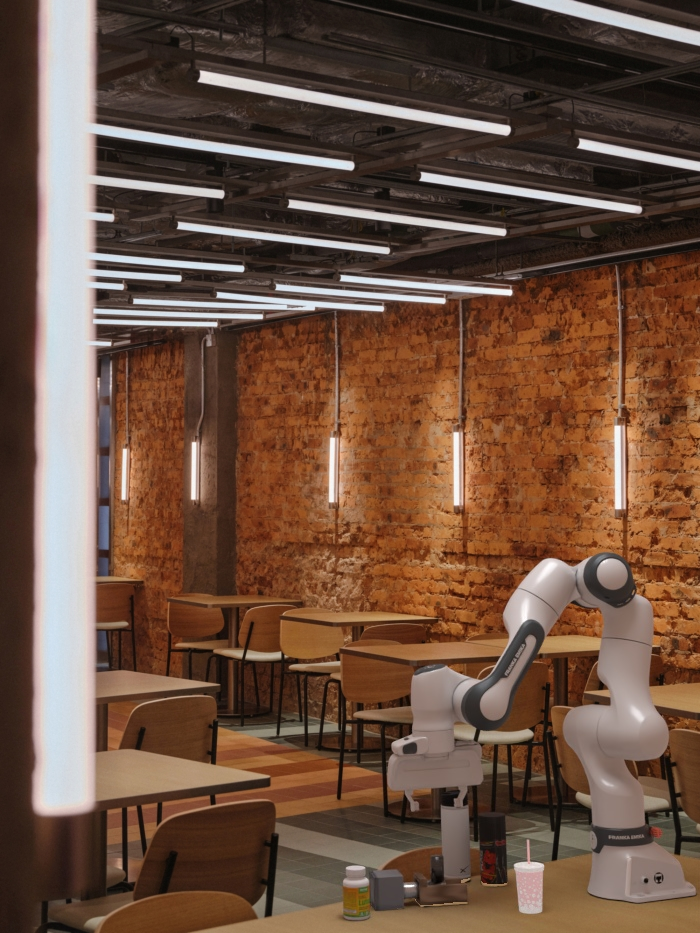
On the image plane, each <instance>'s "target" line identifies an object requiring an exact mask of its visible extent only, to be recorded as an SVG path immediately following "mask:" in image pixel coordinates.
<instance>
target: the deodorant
mask: <svg viewBox="0 0 700 933" xmlns="http://www.w3.org/2000/svg"><path fill="white" fill-rule="evenodd" d="M478 840H479V841H478V842H479V868H480V875H479V876H480V882H481V881H482V882H483V883H487V884H504V883H507V882H508V859H507V858H508V857H507V856H508V855H507V851H508V850H507V827H506V814H505V813H504V812H500V811H499V812H498V811H486V812H481V813H478ZM508 883H509V882H508Z"/></svg>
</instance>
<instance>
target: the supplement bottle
mask: <svg viewBox="0 0 700 933" xmlns="http://www.w3.org/2000/svg"><path fill="white" fill-rule="evenodd" d="M366 873H367V871H366V867H365V866H363V865H349V866H346V867H345V876H346V877H345V878H344V879H343V881H342V903H343V904H342V909H343V911H342V912H343V918H344V919H345V920H347V921H365V920H367V919H369V918H370V916H371V904H370V888H369V878H367V877H366Z"/></svg>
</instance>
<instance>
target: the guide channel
mask: <svg viewBox="0 0 700 933" xmlns="http://www.w3.org/2000/svg"><path fill="white" fill-rule="evenodd" d="M412 874H413V882H419V898H415V899H416V901H417V902H418V903H419V904H420V905H433V904H444V903H453V902H468V903H469V901H468V897H469V896H468V884H467V883H461V878H444V880H445V882H446V885H431V886H427V881H431V878H430V879H427V878H426V877H425V876H424V874H423V873H421V872H420V871H419V872H412ZM416 901H415V902H416Z"/></svg>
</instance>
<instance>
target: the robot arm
mask: <svg viewBox="0 0 700 933" xmlns="http://www.w3.org/2000/svg"><path fill="white" fill-rule="evenodd" d="M635 582H636V581H635V579H634V575H633V571H632V568H631V566H630V564H629V563H628V561H627V560H626V559H625V558H624V557H623V556H621V555H619V554H617V553H614V552H609V551H604V552H598V553H595V554H594V555H592V556H589V557H587V558H585V559H584V560H582V561H581V562H579V563H578V564H576V565H574V566H572V565H569V564H567V563H566V562H565V561H564V560H563V561H562V560H560V559H559V558H554V557H553V558H552V557H551V558H550V557H548V558H544V559H542V560H541V561H540V562H539V563H538V564H537V565H536V566H534V568H532V570H531V571H530V572H529V573H527V575H526V576H525V577H524V578H523V580H522V581H521V582H520V583H519V584H518V585H517V587H516V589H515V591H514V592H513V593H512V595H511V596H510V598H509V600H508V601H507V604H506V606H505V608H504V610H503V613H502V620H503V625H504V628H505V629H506V631H507V633H508V642H507V645H506V647H505V648H504V650H503V652H502V653H501V655H500V657H499V658H498V661H497V662H496V664H495V665H494V667H493V669H492V670H491V672H490V674H488V675H487V676H486V677H484V678H482V679H478V678H474V677H471V676H468V675H467V676H466V675H465V674H461V673H459V672H457V671H455V670H454V669H452V668H450V667H448V666H447V665H446V664H445V663H444V664H443V663H435V664H429V665H425V666H422V667H420V668H418V669H416V670H415V671H414V673H413V674H412V678H411V683H410V684H411V686H410V709H411V713H412V716H413V722H412V726H411V727H412V728H411V729H412V730H411V732H412V733H411V734H410V735H407V736H405V737H402V738H399V739H397V740H395V741H393V742H392V743H391V751H392V752H393V753H392V754H391V755H390V756H389V759H388V764H387V765H388V766H387V775H386V776H387V779H386V780H387V781H386V782H387V786H388V788H389V789H390V790H392V791H393V792H400V791H404V795H405V796H406V798H407V800H408V802H409V803H410V805H409V806H410V810H411V812H419V811H420V803H419V802H418V801H414V799H413V797H412V796H413V795H414V791H415V790H416V791H417V790H426V789H441V788H453V787H458V790H460V794H459V796H458V798H455V799H454V802H455V803H454V807H455V808H463V799H464V797H465V795H466V793H467V789H468V786H478V785H482V783H483V781H484V773H483V771H484V770H483V766H482V761H481V759H482V756H483V748H482V746H481V744H480V743H479V742H477V741H475V740H473V739H468V740H455V726H454V725H455V723H457V722H461V723H463V724H466V725H469V726H472V727H474V728H475V729H476V730H479V731H481V732H482V731H483V732H493V731H495V730H498V729H499V728H501V727H502V726H504V724H505V723H506V722H507V721H508V720H509V717H510V716H511V713H512V711H513V710H512V709H513V705H514V700H515V696H516V693H517V691H518V689H519V687H520V686H521V683H522V682H523V680H524V678H525V677H526V675H527V673H528V672H529V670H530V667H531V666H532V664H533V663H534V661H535V659H536V657H537V656H538V654H539V652H540V650H541V648H542V645H544V644H543V643H544V641H545V639H546V638H547V636H548V635H549V633H550V632H551V630H552V628H553V626H555V624H556V622H557V621H558V619H559V618H560V617H561V615H562V613H563V612H564V610H565V608H566V607H567V606H568V605H569V604H572V605H574V606H577V607H579V608H582V609H586V610H596V609H599V611H600V613H601V616H602V621H603V622H602V624H603V627H602V632H601V638H600V639H601V640H600V645H599V646H600V647H599V652H598V659H597V667H596V672H597V673H596V674H597V677H598V679H599V680H600V682H602V683H603V684H604V685H605V686H606V687H607V689H608V692H609V696H610V697H609V698H610V705H604V704H592V703H591V704H586V705H580V706H576V707H573V708H571V709H570V710H569V711H568V712H567V714H566V715H565V717H564V719H563V723H562V735H563V738H564V741H565V742H566V744H567V745H568V747H570V748H571V749H572V750H573V752H574V753H575V754H576V756H577V757H578V759H579V761H580V763H581V766H582V768H583V770H584V773H585V776H586V778H587V781H588V786H589V792H590V805H591V821H592V822H591V823H590V834H589V836H590V837H589V839H590V846H591V847H590V848H591V850H592V856H591V857H592V859H591V870H590V875H589V882H588V885H587V886H588V887H587V890H586V891H587V892H588V893H589V894H591V896H595V897H599V898H603V899H608V900H619V901H626V902H629V903H638V904H639V903H645V902H646V903H647V902H654V901H661V900H669V899H670V900H671V899H676V898H677V899H678V898H685V897H691V896H693V897H694V896H696V895H697V889H696V887H695V886H694V885H693V884H692V883H691V882H689V881H687V880H686V879H685V874H684V870H683V866H682V865H681V863H680V861H679V860H678V859H677V858H676V857H675V856H673V855H672V854H671V853H670V852H669V851H667V850H666V849H665V848H664V847H662V846H661V845H659V844H658V843H657V842H656V841H654V840H655V838H656V839H660V838H662V836H663V830H662V829H661V828H659V827H656V826H651V825H649V824H647V823H646V818H645V817H646V815H645V798H644V797H645V794H644V788H643V786H642V783H640V782H639V780H638V779H636V778H635V777H634V776H633V775H632V773H631V771H630V770H629V769H628V767H627V765H626V762H625V760H626V761H627V760H628V761H633V762H635V761H636V762H640V761H641V762H642V761H650V760H656V759H659V758H660V757H661V756H662V755H664V752H666V750H667V748H668V744H669V740H670V732H669V728H668V724H667V722H666V720H665V718H664V717H662V715H661V714H660V713H659V711H657V709H656V706H655V704H654V702H653V699H652V694H651V689H650V672H651V669H650V668H651V660H652V652H653V651H652V650H653V642H654V633H655V632H654V625H655V624H654V610H653V608H654V607H653V605H652V603H651V602H650V601H649V600H648V599H647V598H646V597H645V596H642V595H639V594H637V591H638V587H637V584H636V583H635ZM467 794H468V793H467Z"/></svg>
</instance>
